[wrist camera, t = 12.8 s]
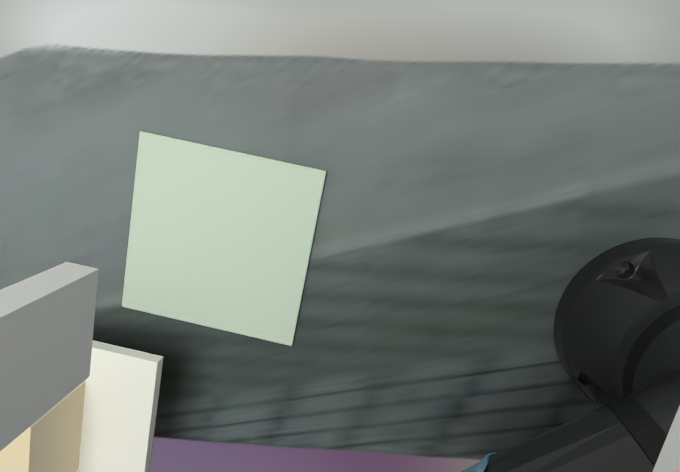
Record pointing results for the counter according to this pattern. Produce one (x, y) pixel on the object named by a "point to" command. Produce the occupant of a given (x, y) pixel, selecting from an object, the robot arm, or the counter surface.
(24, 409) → the robot arm
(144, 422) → the board
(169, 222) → the mat
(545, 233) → the counter surface
